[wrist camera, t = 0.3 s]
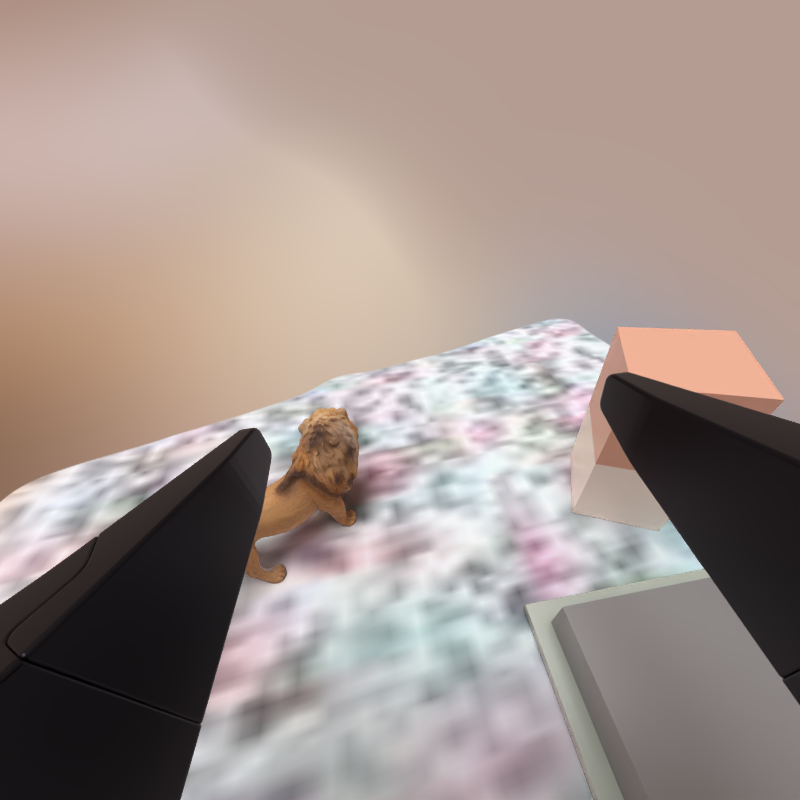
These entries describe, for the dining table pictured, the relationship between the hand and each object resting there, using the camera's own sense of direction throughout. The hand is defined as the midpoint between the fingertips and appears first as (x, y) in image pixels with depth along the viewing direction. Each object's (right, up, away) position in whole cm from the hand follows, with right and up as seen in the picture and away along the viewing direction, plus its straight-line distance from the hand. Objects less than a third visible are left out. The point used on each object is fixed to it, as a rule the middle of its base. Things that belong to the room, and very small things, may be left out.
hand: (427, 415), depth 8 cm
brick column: (+15, -6, +15) cm, 22 cm away
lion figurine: (-8, -10, +16) cm, 21 cm away
